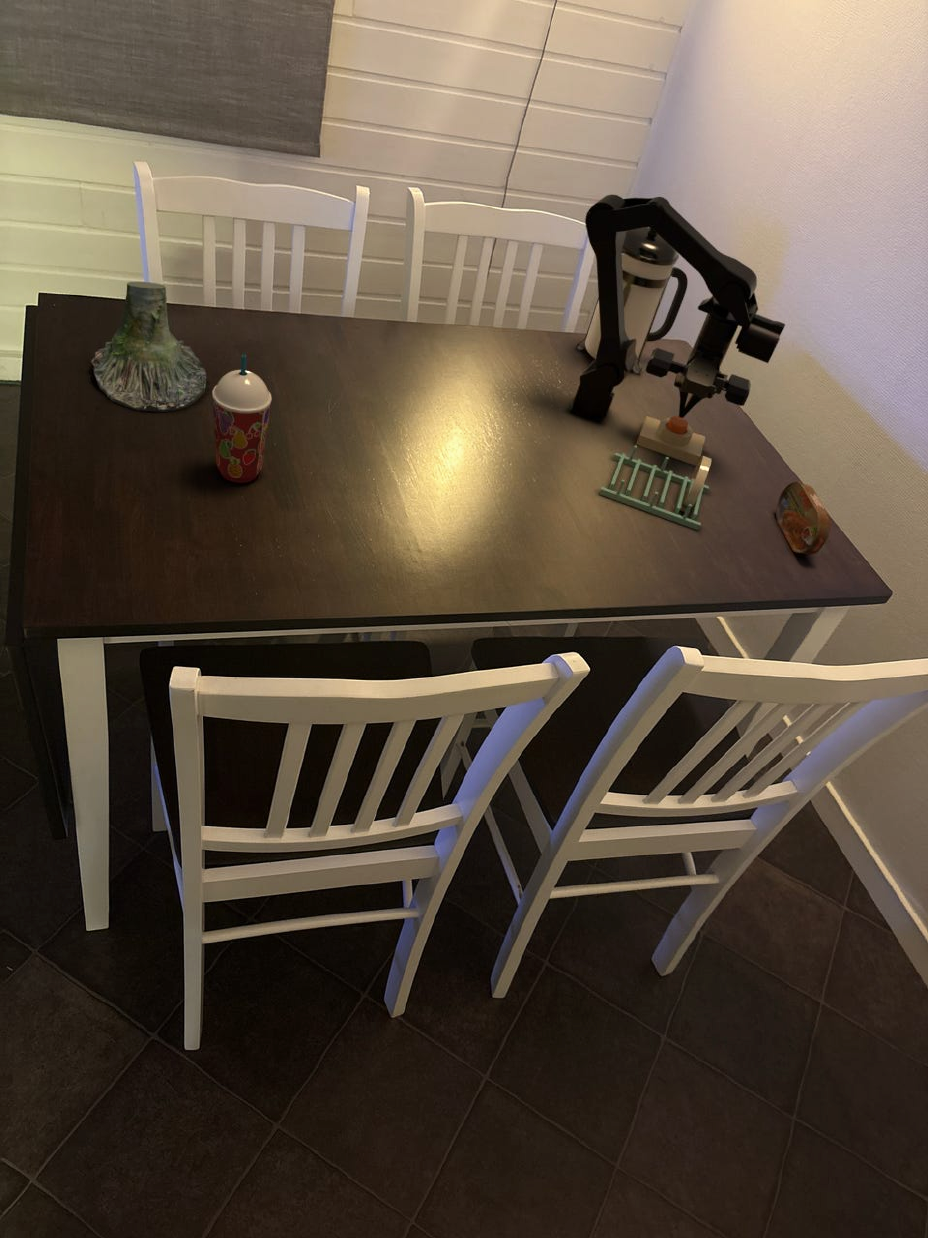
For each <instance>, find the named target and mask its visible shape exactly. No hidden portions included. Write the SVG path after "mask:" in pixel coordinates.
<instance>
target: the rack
mask: <svg viewBox="0 0 928 1238" xmlns="http://www.w3.org/2000/svg"><path fill="white" fill-rule="evenodd" d="M637 449H638V445H634V446H633V448H632V450H631V453H630V455H629V456H626V453H623V452H622V453H617V452H615V453H614V456H613V458H612V460H613V461H615V462H618V464H617V465H616V469H615V471H614V474H613V476H612V479H611V482H610V484H609V486H608V488H607V487H604V486H602V487H601V488H600V491H599V496H603V497H606V498H608V499H611V500H614V501H617V502H619V503H622V504H624V505H628V506H630V507H633V508H635V509H638V510H642V511H644V512H647V513H649V514H652V515H655V516H657V517H660V518H663V519H666V520H669V521H671V522H673V523H677V524H679V525H682V526H684V527H687V528H690V529H692V530H695V531H699V530H700V528H701V524H702V523H701V521H700V522H699V521H697V520H696V518H697V517H698V512H699V508H700V503H701V499H702V495H703V493H704V494H707V493H708V492H709V489H710V486H709V485H706V484H705V483H704V484H703V487H702V489H701V491H700V494H699V496H698V498H697V500H696V502H695V504H694V505H693V507H692V505H691V504H689V505H688V507H687V509H686V511H685V512H683V513H684V514H683V515H681V514H679V513H680V509H681V505H682V501H683V497H684V494H685V493H686V490H687V487H688V485H689V482H690V480H691V478H690V479H689V476H686V475H685V476H682V475H678V474H676V473H673V470H669V471H668V470H665V469H666V466H667V464H668V462H669V460H670V456H665V458H664V461H663V462H662V465H661V468H659V467H658V465H656V464H653V465H651V464H649V463H646V462H643V461H642V459H640V458H638V459H635V458H634V457H635V454H636V452H637ZM622 465H627V466H629V467H632V468H633V471H632V474H631V476H630V479H629V481H628V485H627V488H626V490H625V493H624V494H623V493H621V492H622V489H623V488H624V485H625V483H626V480H625V479H621V481H620V483H619V486H618V488H617V490H616V491H614V490H613V489H614V486H615V484H616V481H617V479H618V476H619V473H620V470H621V467H622ZM638 470H640V471H643V472H646V473H647V474H648V473H649V475H648V478H647V481H646V485H645V487H644V490H643V493H642V496H641V500H640V499H637V498H634V497H631V496H630V494H631V491H632V488H633V486H634V482H635V480H636V476H637V474H638ZM655 476H656V477H659V478H663V479H665V480H664V483H663V486H662V490H661V493H660V495H659V492H658V491H655V492H654V493H653V495H652V498H651V501H650V503H647V502H646V500H647V498H648V495H649V492H650V489H651V487H652V483H653V480H654V477H655ZM670 482H673V483H676V484H678V485H680V488H679V492H678V496H677V499H676V502H675V507H674V510H673V511H670V510H667V509H664V508H663V505H664V502H665V499H666V496H667V492H668V489H669V486H670ZM658 495H659V496H660V498H659V499H658V503H657V506H656V505H654V504H655V503H656V500H657V497H658ZM691 507H692V509H691ZM689 511H690V512H691V514H690V512H689ZM688 513H689V514H690V518H689V517H688V516H689V514H688Z"/></svg>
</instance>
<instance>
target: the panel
mask: <svg viewBox="0 0 928 1238" xmlns="http://www.w3.org/2000/svg"><path fill="white" fill-rule="evenodd" d="M670 418H671V417H665V418H663V419H657V418H653V417H652V416H651V417H650V416H649V415H647V416H645V419H644V422H643V424H642V426H641V429H640V433H639V434H638V438H637V440H636V443H635V445H636V446H640V447H642V448H646V449H648V450H650V451H653V452H657V453H659V454H662V455H665V456H666V457H669V458H673V459H676V460H678V461H680V462H681V461H682V462H684V463H686V464H690V465H692V466H695V467H696V466H697V464H698V462H699V460H700V458H701V457H702V453H703V449H704V444H705V440H706V436H704V435H701V434H699V433H696V432H694V430H693V429H692V427H691V426H690V425H689V424H688V427H687V429H686V431H685V433H684V434H677V433H674V432H672V431H670V430H669V429H668V428H667V425H668V422H669V420H670Z"/></svg>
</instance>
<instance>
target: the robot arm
mask: <svg viewBox="0 0 928 1238" xmlns="http://www.w3.org/2000/svg"><path fill="white" fill-rule="evenodd" d="M584 222H585V223H584V225H585V229H586V233H587V237H588V238H587V239H588V242H589V244H590V246H591V249H592V251H593V253H594V255H595V260H596V277H597V294H598V297H599V313H600V331H601V338H600V342H599V346H598V351H597V355H596V359H595V358H594V360H592V362H591V363H590V364H589V365H588V367H587V368H586V369H585V370H584V371H583V372H582V373H581V374H580V376H579V385H578V388H577V391H576V394H575V397H574V400H573V403H572V405H571V406H570V408H569V412H570V413H571V414H573V415H577V416H578V417H582V418H585V419H587V420H591V421H593V422H596V423H599V424H600V423H602V421H603V419H604V418H606V417H607V416H608V414H609V411H610V408H611V406H612V403H613V400H614V397H615V392H613V391H614V389H615V388H616V387H617V386H620V384H621V383H623V382H624V380H625V379H626V378H627V376H628V375H629V374H630V373H631V371H633V369H632V368H633V366H635V364H636V363H637V362H636V360H637V359H638V358H637V356H636V351H635V349H636V339H631V340H629V338H628V336H627V334H626V332H625V320H624V296H623V272H622V248H623V244H624V240H625V235H626V231H628V230H633V229H638V228H644V227H651V228H652V229H653V230H654V231H655V232H656V233H657V234H658V235H659V236H661V237H662V238H663V239H664V240H665V241H666V242H667V243H668V244H669V245H670V246H671V247H672V248H673V249H674V250H675V251H676V252H678V254H679V256H680V257H681V258H683V259H684V260H685V261H686V262H687V263H688V264H689V266H691V267H692V268H693V269H694V270H695V271H696V272H698V274H699V275H700V276H701V278H702V279H703V282H704V283H705V286H706V288H707V290H708V292H709V293H710V294H711V296H709V298H706V299H702V301H700V304H698V305H697V310H698V311H699V312H700V311H701V312H702V313H705V314H706V316H705V318H704V321H703V324H702V326H701V329H700V330H699V333H698V335H697V337H696V340H695V342H694V345H693V347H692V350H691V352H690V355H689V357H688V359H687V361H686V364H683V363H681V362H678V361H675V360H674V357H675V353H673V352H670V351H667V350H665V349H661V348H659V347H656V348H654V349H652V353H651V355H650V356H649V357H650V358H649V360H648V362H647V365H646V367H645V370H644V371H645V372H646V374H649V375H652V376H654V377H657V378H665V377H666V376H667V375H668V373H669V372H670V373H673V374H674V375H675V374H676V375H675V379H674V382H673V386H674V387H675V388H677V389H678V391H679V407H678V410H679V411H678V417H680V418H683V419H685V417H686V416H687V415H688V414H689V413H690V412H691V410H692V409H693V408H694V407H695V406H696V405H697V404H698V403H700V402H701V401H702V400H704V399H709V400H711V399H713V397H714V395H716V394H717V395H720V394H721V393H722V391H724V392H725V394H724V398H725V400H726V402H729V403H731V404H734V405H737V406H740V407H744V406H745V404H746V402H747V400H748V398H749V395H750V391H751V387H752V386H751V385H752V383H751V381H750V379H747V378H744V377H742V376H739V375H736V374H733V373H732V374H730V375H729V376H728V374H725V373H723V372H722V371H721V366H722V364H723V362H724V359H725V357H726V355H727V352H728V350H729V348H730V345H731V344H732V341H733V339H734V337H735V335H736V332H737V330H738V327H741V328H740V330H739V332H738V335H737V337H736V339H735V342H734V344H735V345H736V347H735V349H738V351H737V352H739V353H741V354H743V355H746V356H748V357H751V358H753V359H756V360H758V361H761V362H764V363H766V364H769V362H770V361H771V358H772V357H773V354H774V352H775V350H776V348H777V346H778V344H779V342H780V339H781V338H780V337H781V335H782V333H783V331H784V329H785V328H786V327H785V326H786V324H785V323H784V322H781V321H778V320H772V319H771V318H768V317H766V316H762V315H760V314H758V311H759V305H758V302H757V298H756V297H757V296H756V292H755V291H756V288H757V285H758V284H757V283H758V280H757V275H756V273H755V272H754V270H753V269H751V268H750V267H749V266H747V265H746V264H744V263H742V262H741V261H740V260H738V259H736V258H735V257H731V256H730V255H726V254H724V253H723V252H721V251H720V250H718V249H717V248H716V247H715V246H714V245H713V244H712V243H711V242H710V241H709V240H708V239H707V238H706V237H705V236H703V235H702V234H701V233H700V232H699V231H698V230H697V229H696V228H695V227H694V226H693V225H692V224H691V223H690V222H689V221H688V220H686V219H685V217H683V216H682V215H681V214H680V213H679V211H677V210H676V209H675V208H674V207H673V206H672V205H671V203H670V202H669V200H668V199H667V198H665V197H663V196H656V197H650V198H649V197H628V198H623V197H622V196H619V195H617V194H608V195H605V196H603V197H602V198H601V199H599V200H598V201H596V202H595V203H594V204H593V205H592V206H591V207H590V208H589V209H587V212H586V214H585V217H584ZM637 361H638V360H637ZM635 362H636V363H635ZM728 377H729V378H728ZM689 394H691V396H690V397H689ZM688 397H689V399H688Z"/></svg>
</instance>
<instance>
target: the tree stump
mask: <svg viewBox="0 0 928 1238" xmlns="http://www.w3.org/2000/svg"><path fill="white" fill-rule="evenodd" d="M167 300H168V299H167V286H166V285H164V284H161V283H156V282H149V281H128V282H126V294H125V299H124V307H123V314H122V319H121V323H120V325H119V327H118V328H117V329H116V331H115V332H114V334H113V336H112V338H111V341H106V342H105V347H103V348H99V349H98V350H97V351H95V353H94V358H92V359H90V363H91V365H92V366H93V367H92V370H93V375H94V377H95V380H96V382H97V385H98V388H99V389H100V391H102V392H103V394H105V395H106V396H107V398H108V399H110V401H111V402H113V403H116V404H119V405H121V406H123V407H127V408H129V409H132V410H135V411H140V412H158V413H167V412H174V411H175V412H176V411H179V410H183V409H186V408H188V407H190V406H192V405H194V404H195V403H196V402H197V401H198V400H199V399H200V398H201V397H203V395H204V394H205V392H206V386H207V372H206V370H205V368H204V366H203V363H202V362H201V359H200V358H198V356H196V355H195V352H194V351H193V348H192V347H191V346H188V345H185V344H184V340H177V338H176V337H175V336H174V335H173V333H171V329H170V325H169V319H168V304H167Z"/></svg>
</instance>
